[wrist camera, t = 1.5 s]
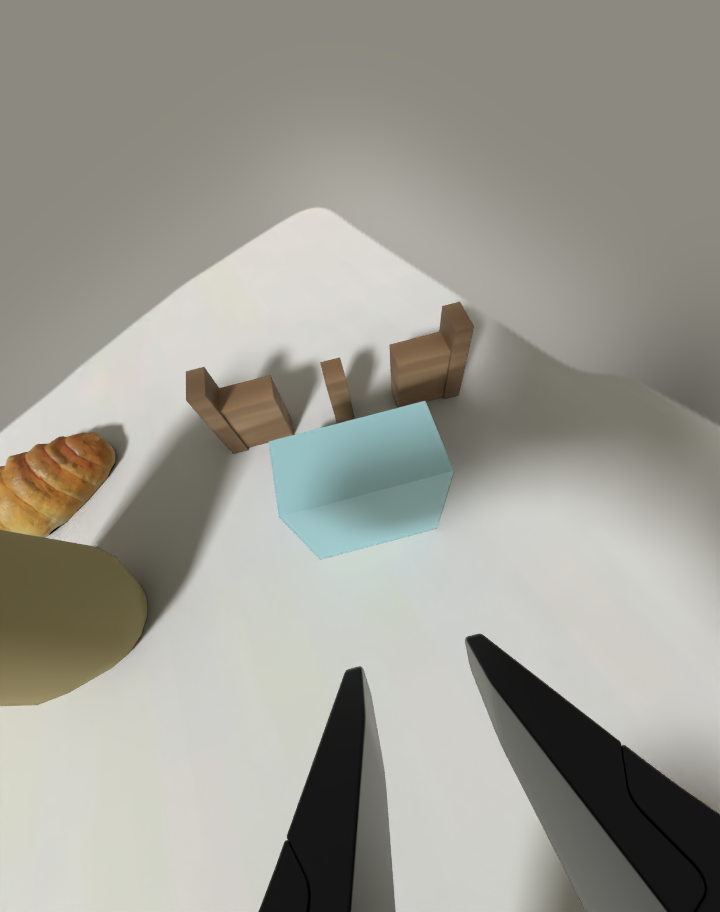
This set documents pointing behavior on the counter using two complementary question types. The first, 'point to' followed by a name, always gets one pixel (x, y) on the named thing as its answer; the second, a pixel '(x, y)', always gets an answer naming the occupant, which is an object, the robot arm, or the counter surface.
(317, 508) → the pale blue brick
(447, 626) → the counter surface
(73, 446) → the pastry
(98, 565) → the squeeze bottle
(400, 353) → the rail
